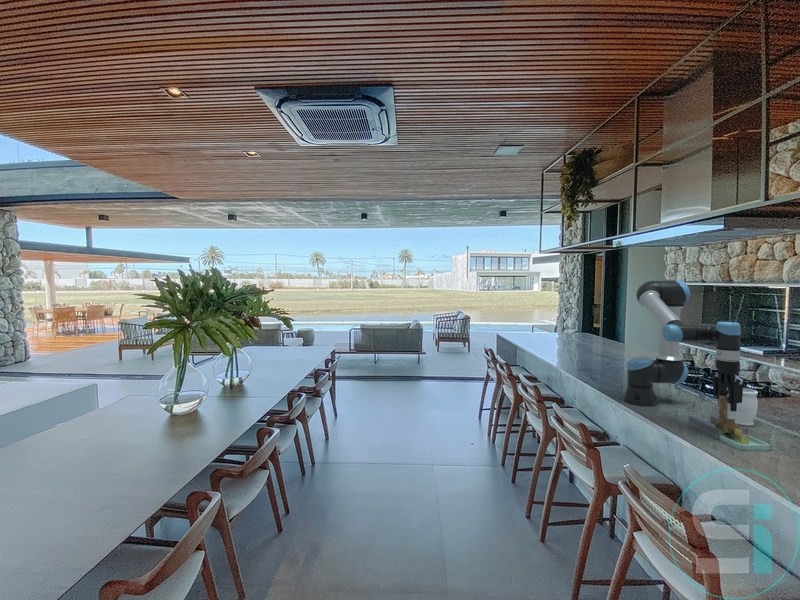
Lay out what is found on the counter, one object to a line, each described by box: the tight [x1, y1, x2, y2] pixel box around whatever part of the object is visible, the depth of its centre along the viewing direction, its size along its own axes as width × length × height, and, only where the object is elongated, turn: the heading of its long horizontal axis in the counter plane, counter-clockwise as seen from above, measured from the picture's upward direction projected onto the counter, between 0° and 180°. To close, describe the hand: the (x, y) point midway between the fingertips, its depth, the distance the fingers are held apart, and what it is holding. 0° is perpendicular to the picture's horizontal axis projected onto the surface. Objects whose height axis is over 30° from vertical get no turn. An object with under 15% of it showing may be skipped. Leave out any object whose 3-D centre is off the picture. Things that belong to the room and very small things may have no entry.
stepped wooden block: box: [715, 394, 740, 433], centre depth 157 cm, size 5×6×14 cm
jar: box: [726, 387, 759, 427], centre depth 172 cm, size 11×10×15 cm
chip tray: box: [718, 434, 772, 452], centre depth 149 cm, size 10×11×2 cm
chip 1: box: [728, 427, 742, 437], centre depth 153 cm, size 3×3×3 cm
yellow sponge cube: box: [735, 433, 750, 444], centre depth 150 cm, size 3×3×3 cm
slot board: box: [688, 415, 750, 441], centre depth 162 cm, size 16×12×4 cm
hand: (726, 416), depth 157 cm, fingers closed on stepped wooden block, 3 cm apart
